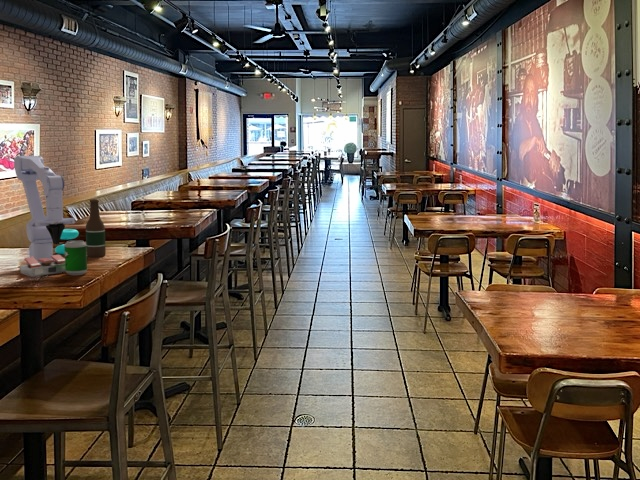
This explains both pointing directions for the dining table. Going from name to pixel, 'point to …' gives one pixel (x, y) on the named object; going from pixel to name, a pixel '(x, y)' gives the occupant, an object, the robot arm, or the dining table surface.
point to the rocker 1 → (32, 262)
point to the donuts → (66, 235)
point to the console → (43, 269)
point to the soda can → (75, 257)
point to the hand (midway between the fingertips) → (56, 244)
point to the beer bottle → (95, 232)
